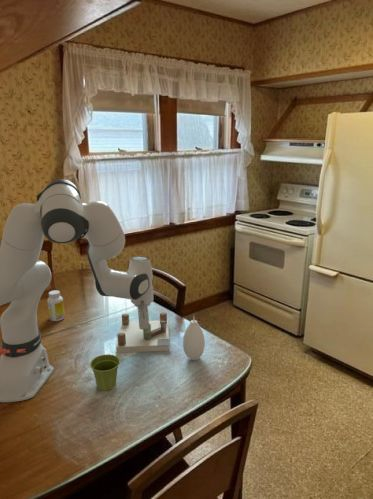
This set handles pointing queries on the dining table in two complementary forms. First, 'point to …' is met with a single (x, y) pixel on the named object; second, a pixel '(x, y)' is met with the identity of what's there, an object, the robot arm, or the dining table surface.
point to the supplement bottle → (55, 306)
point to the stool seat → (141, 336)
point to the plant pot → (105, 371)
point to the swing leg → (154, 331)
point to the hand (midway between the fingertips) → (143, 327)
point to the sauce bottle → (193, 340)
